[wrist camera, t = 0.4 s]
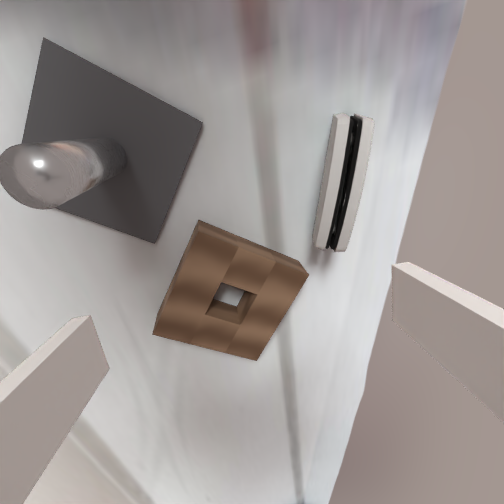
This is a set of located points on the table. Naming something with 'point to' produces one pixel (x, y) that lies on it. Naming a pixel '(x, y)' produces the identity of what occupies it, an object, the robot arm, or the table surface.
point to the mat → (114, 127)
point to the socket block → (235, 274)
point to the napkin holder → (342, 180)
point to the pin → (58, 169)
